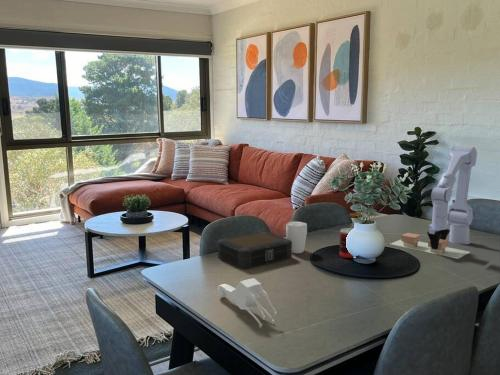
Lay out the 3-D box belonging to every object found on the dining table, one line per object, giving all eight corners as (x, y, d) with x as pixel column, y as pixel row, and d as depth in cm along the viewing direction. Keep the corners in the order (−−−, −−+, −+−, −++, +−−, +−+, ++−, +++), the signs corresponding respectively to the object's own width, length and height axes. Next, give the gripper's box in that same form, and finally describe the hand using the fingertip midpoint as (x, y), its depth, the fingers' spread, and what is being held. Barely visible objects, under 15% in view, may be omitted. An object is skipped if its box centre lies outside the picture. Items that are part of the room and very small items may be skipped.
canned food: (360, 254, 199) (361, 229, 197) (355, 260, 192) (356, 233, 190) (342, 252, 202) (342, 227, 200) (337, 257, 195) (338, 231, 193)
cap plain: (433, 243, 203) (434, 237, 203) (447, 246, 199) (447, 240, 199) (428, 246, 199) (428, 240, 199) (441, 249, 195) (442, 243, 195)
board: (403, 240, 220) (403, 238, 220) (470, 254, 199) (470, 251, 199) (389, 246, 211) (389, 243, 211) (458, 261, 190) (458, 258, 190)
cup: (306, 248, 208) (307, 221, 206) (306, 254, 199) (307, 226, 197) (285, 247, 209) (286, 221, 207) (285, 254, 200) (285, 226, 198)
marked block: (408, 243, 211) (408, 234, 210) (417, 245, 208) (418, 236, 207) (403, 245, 208) (403, 236, 207) (412, 248, 205) (413, 238, 204)
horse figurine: (266, 347, 140) (225, 291, 157) (279, 305, 132) (234, 252, 150) (252, 351, 137) (212, 295, 155) (265, 310, 130) (221, 255, 147)
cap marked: (407, 238, 211) (407, 232, 211) (420, 241, 207) (420, 235, 207) (401, 241, 207) (401, 235, 207) (413, 243, 203) (414, 237, 203)
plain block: (434, 249, 202) (435, 239, 202) (444, 251, 199) (445, 241, 199) (430, 251, 199) (430, 241, 199) (440, 254, 196) (441, 243, 196)
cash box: (244, 271, 180) (244, 251, 178) (216, 257, 196) (216, 239, 195) (294, 259, 194) (294, 240, 193) (264, 247, 210) (264, 230, 209)
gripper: (437, 211, 205) (435, 242, 207) (422, 217, 195) (420, 249, 197) (454, 214, 200) (451, 245, 202) (439, 219, 190) (437, 252, 192)
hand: (437, 247), depth 199 cm, fingers closed on cap plain, 6 cm apart
